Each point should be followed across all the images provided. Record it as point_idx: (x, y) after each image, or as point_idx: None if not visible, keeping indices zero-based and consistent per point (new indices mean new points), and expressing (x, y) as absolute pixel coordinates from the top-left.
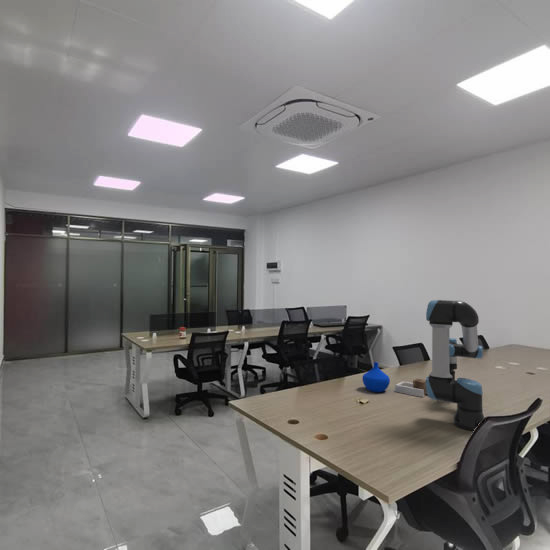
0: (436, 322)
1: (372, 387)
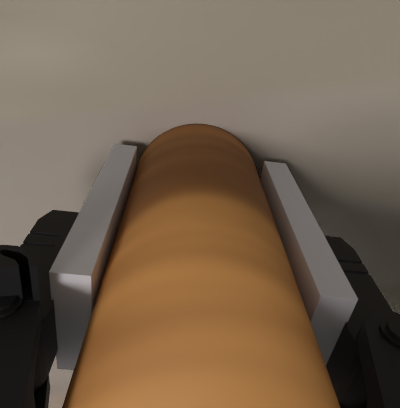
0: None
1: None
